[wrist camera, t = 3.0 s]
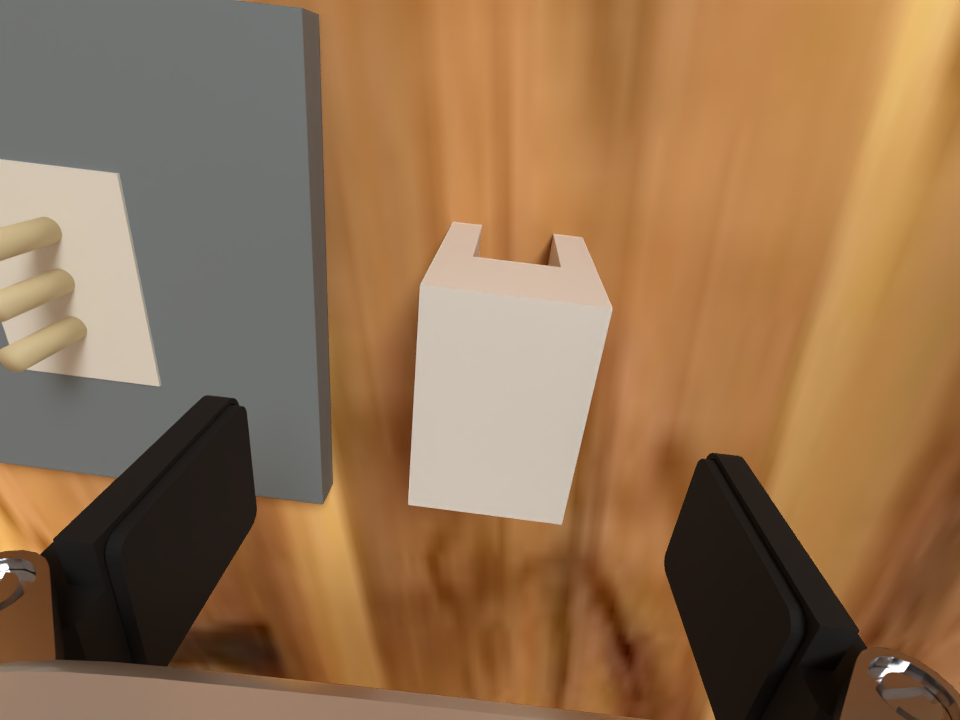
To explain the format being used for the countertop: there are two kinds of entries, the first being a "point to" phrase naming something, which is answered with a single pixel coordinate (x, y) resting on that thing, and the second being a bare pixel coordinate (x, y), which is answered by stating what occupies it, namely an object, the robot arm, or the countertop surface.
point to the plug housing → (504, 377)
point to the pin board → (162, 232)
